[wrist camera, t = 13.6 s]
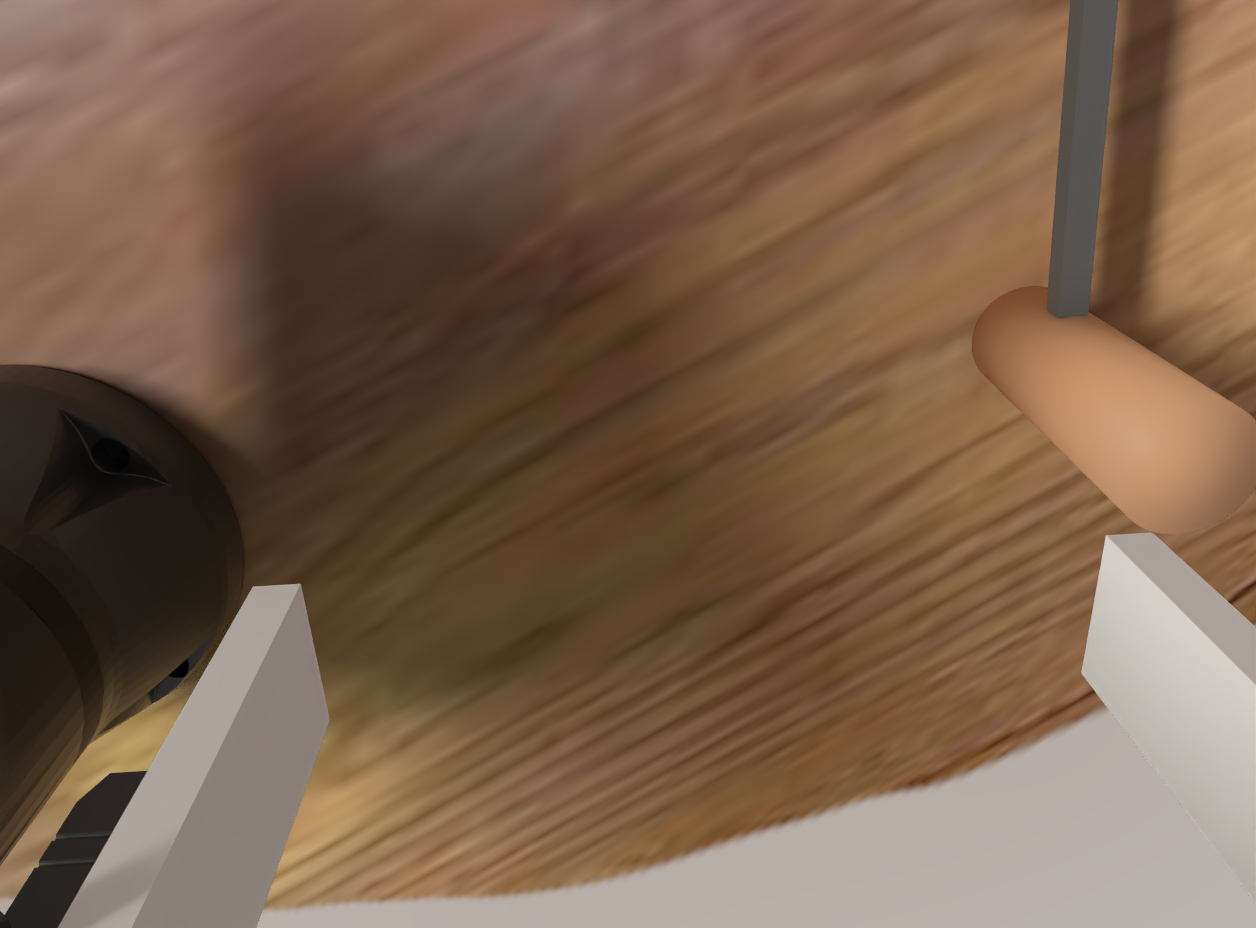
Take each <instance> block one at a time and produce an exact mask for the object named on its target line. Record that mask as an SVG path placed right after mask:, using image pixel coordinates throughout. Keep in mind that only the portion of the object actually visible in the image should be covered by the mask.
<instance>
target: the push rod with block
mask: <svg viewBox="0 0 1256 928" xmlns="http://www.w3.org/2000/svg"><path fill="white" fill-rule="evenodd" d="M1117 10H1118V0H1071V1H1070V14H1069V27H1068V40H1067V52H1066V65H1065V78H1064V91H1063V104H1062V117H1061V129H1060V142H1059V155H1058V168H1057V181H1056V194H1055V207H1054V219H1053V232H1052V245H1051V258H1050V271H1049V284H1048V288H1044V287H1037V286H1032V287H1023V288H1019V289H1015V290H1013V291H1010V292H1008V293H1006V294H1004V295H1002V296H1001V297H999V298H998V299H997V300H995V301H994V302H993V303H992V304H991V305H990V306H989V307H988V308H987V309H986V310H985V311H984V313H983V314H982V315H981V317H980V319H979V321H978V322H977V325H976V327H975V330H974V334H973V339H972V352H973V357H974V360H975V363H976V365H977V367H978V368H979V370H980V371H981V372H982V373H983V374H984V375H985V376H986V377H987V378H988V379H989V380H990V381H991V382H992V383H993V384H994V385H995V386H996V387H997V388H998V389H999V390H1000V391H1001V392H1002V393H1003V394H1004V395H1005V396H1006V397H1007V398H1008V399H1009V400H1010V401H1011V402H1012V403H1013V404H1014V405H1015V406H1016V407H1017V408H1018V409H1019V410H1020V411H1021V412H1022V413H1023V414H1024V415H1025V416H1026V417H1027V418H1028V419H1029V420H1030V421H1031V422H1032V423H1033V424H1034V425H1035V426H1036V427H1037V428H1038V429H1039V430H1040V431H1041V432H1042V433H1043V434H1044V435H1045V436H1046V437H1047V438H1048V439H1049V440H1050V441H1051V442H1052V443H1053V444H1054V445H1055V446H1056V447H1057V448H1058V449H1059V450H1060V451H1061V452H1062V453H1063V454H1064V455H1066V456H1067V457H1068V458H1069V459H1070V460H1071V461H1072V462H1073V463H1074V464H1075V465H1076V466H1077V467H1078V468H1079V469H1080V470H1081V471H1082V472H1083V473H1084V474H1085V475H1086V476H1087V477H1088V478H1089V479H1090V480H1091V481H1092V482H1093V483H1094V484H1095V485H1096V486H1097V487H1098V488H1099V489H1100V490H1101V491H1102V492H1103V493H1104V494H1105V495H1106V496H1107V497H1108V498H1109V499H1110V500H1111V501H1112V502H1113V503H1114V504H1115V505H1116V506H1117V507H1118V508H1119V509H1120V510H1121V511H1122V512H1123V513H1124V514H1125V515H1126V516H1127V517H1128V518H1129V519H1130V520H1131V521H1133V522H1134V523H1135V524H1137V525H1138V526H1140V527H1142V528H1144V529H1146V530H1149V531H1152V532H1156V533H1160V534H1170V535H1173V534H1186V533H1191V532H1195V531H1199V530H1202V529H1205V528H1208V527H1210V526H1212V525H1214V524H1216V523H1218V522H1220V521H1221V520H1223V519H1225V518H1226V517H1228V516H1229V515H1230V514H1232V513H1233V512H1234V511H1236V510H1237V509H1238V508H1239V507H1240V506H1241V505H1242V504H1243V503H1244V502H1245V501H1246V500H1247V498H1248V497H1249V496H1250V495H1251V493H1252V492H1253V490H1254V489H1255V487H1256V421H1255V419H1254V418H1253V417H1252V416H1251V415H1250V414H1249V413H1247V412H1246V411H1245V410H1243V409H1242V408H1240V407H1239V406H1237V405H1235V404H1234V403H1232V402H1231V401H1229V400H1227V399H1226V398H1224V397H1223V396H1221V395H1220V394H1218V393H1216V392H1215V391H1213V390H1212V389H1210V388H1208V387H1207V386H1205V385H1204V384H1202V383H1200V382H1199V381H1197V380H1196V379H1194V378H1193V377H1191V376H1189V375H1188V374H1186V373H1185V372H1183V371H1181V370H1180V369H1178V368H1177V367H1175V366H1174V365H1172V364H1170V363H1169V362H1167V361H1166V360H1164V359H1162V358H1161V357H1159V356H1158V355H1156V354H1155V353H1153V352H1151V351H1150V350H1148V349H1147V348H1145V347H1143V346H1142V345H1140V344H1139V343H1137V342H1136V341H1134V340H1132V339H1131V338H1129V337H1128V336H1126V335H1124V334H1123V333H1121V332H1120V331H1118V330H1117V329H1115V328H1113V327H1112V326H1110V325H1109V324H1107V323H1105V322H1104V321H1102V320H1101V319H1099V318H1097V317H1096V316H1094V315H1093V314H1091V313H1090V312H1089V302H1090V291H1091V281H1092V270H1093V260H1094V249H1095V239H1096V229H1097V218H1098V208H1099V197H1100V187H1101V177H1102V166H1103V156H1104V145H1105V135H1106V124H1107V114H1108V104H1109V93H1110V83H1111V72H1112V62H1113V51H1114V41H1115V31H1116V20H1117Z"/></svg>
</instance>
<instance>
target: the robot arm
mask: <svg viewBox="0 0 1256 928" xmlns="http://www.w3.org/2000/svg"><path fill="white" fill-rule="evenodd" d="M243 572H244V554H243V546H242V539H241V534H240V530H239V526H238V523H237V519H236V516H235V514H234V511H233V508H232V506H231V504H230V501H229V499H228V497H227V495H226V493H225V491H224V489H223V487H222V486H221V484H220V482H219V480H218V479H217V477H216V476H215V474H214V473H213V471H212V470H211V468H210V467H209V466H208V464H207V463H206V462H205V460H204V459H203V458H202V457H201V455H200V454H199V453H198V452H197V451H196V450H195V448H194V447H193V446H192V445H191V444H190V443H189V442H188V441H187V440H186V439H185V438H184V437H183V436H182V435H181V434H180V433H179V432H178V431H176V430H175V429H174V428H173V427H172V426H171V425H170V424H168V423H167V422H166V421H165V420H163V419H162V418H161V417H160V416H158V415H157V414H155V413H154V412H152V411H151V410H150V409H148V408H147V407H145V406H144V405H142V404H140V403H139V402H137V401H136V400H134V399H132V398H130V397H128V396H126V395H125V394H123V393H121V392H119V391H117V390H115V389H112V388H110V387H108V386H106V385H104V384H101V383H98V382H96V381H93V380H91V379H88V378H85V377H82V376H79V375H75V374H71V373H67V372H64V371H59V370H54V369H49V368H42V367H34V366H20V365H0V866H1V864H2V863H3V861H4V860H5V859H6V857H7V856H8V855H9V853H10V852H11V850H12V849H13V848H14V846H15V845H16V844H17V842H18V841H19V839H20V838H21V837H22V835H23V834H24V832H25V831H26V830H27V828H28V827H29V826H30V824H31V823H32V821H33V820H34V819H35V817H36V816H37V814H38V813H39V812H40V810H41V809H42V808H43V806H44V805H45V803H46V802H47V801H48V799H49V798H50V797H51V795H52V794H53V792H54V791H55V790H56V788H57V787H58V785H59V784H60V783H61V781H62V780H63V779H64V777H65V776H66V774H67V773H68V771H69V770H70V769H71V767H72V766H73V765H74V763H75V762H76V761H77V759H78V758H79V756H80V755H81V754H82V752H83V751H84V750H85V749H86V747H87V746H88V745H89V744H90V743H92V742H93V741H95V740H96V739H98V738H100V737H101V736H103V735H104V734H106V733H107V732H109V731H111V730H112V729H114V728H115V727H117V726H119V725H120V724H122V723H123V722H125V721H126V720H128V719H130V718H131V717H133V716H134V715H136V714H137V713H139V712H141V711H142V710H144V709H145V708H147V707H148V706H149V705H151V704H152V703H154V702H156V701H158V700H160V699H161V698H163V697H164V696H166V695H167V694H169V693H170V692H171V691H173V690H174V689H176V688H177V687H178V686H179V685H181V684H182V683H183V682H184V681H185V680H186V679H187V678H188V677H189V676H190V675H192V674H193V673H194V672H195V671H196V669H197V668H198V667H199V666H200V665H201V664H202V662H203V661H204V660H205V658H206V657H207V656H208V654H209V653H210V651H211V650H212V648H213V647H214V645H215V644H216V642H217V641H218V639H219V638H220V636H221V634H222V633H223V631H224V630H225V628H226V627H227V625H228V623H229V621H230V620H231V618H232V615H233V613H234V611H235V609H236V606H237V603H238V600H239V597H240V593H241V588H242V582H243ZM1081 673H1082V675H1083V676H1084V677H1085V679H1086V680H1087V681H1088V683H1089V684H1090V685H1091V687H1092V688H1093V689H1094V691H1095V692H1096V693H1097V695H1098V696H1099V697H1100V699H1101V700H1102V701H1103V703H1104V704H1105V705H1106V707H1107V708H1108V709H1109V711H1110V712H1111V713H1112V714H1113V716H1114V717H1115V719H1116V720H1117V721H1118V723H1119V724H1120V725H1121V726H1122V728H1123V729H1124V730H1125V732H1126V733H1127V734H1128V736H1129V737H1130V738H1131V740H1132V741H1133V742H1134V744H1135V745H1136V746H1137V748H1138V749H1139V750H1140V752H1141V753H1142V754H1143V756H1144V757H1145V758H1146V760H1147V761H1148V762H1149V764H1150V765H1151V766H1152V767H1153V769H1154V770H1155V772H1156V773H1157V774H1158V775H1159V777H1160V778H1161V779H1162V781H1163V782H1164V784H1165V785H1166V786H1167V787H1168V789H1169V790H1170V791H1171V793H1172V794H1173V795H1174V797H1175V798H1176V799H1177V801H1178V802H1179V803H1180V805H1181V806H1182V807H1183V809H1184V810H1185V811H1186V813H1187V814H1188V815H1189V817H1190V818H1191V819H1192V821H1193V822H1194V823H1195V825H1196V826H1197V827H1198V828H1199V830H1200V831H1201V833H1202V834H1203V835H1204V836H1205V838H1206V839H1207V840H1208V842H1209V843H1210V844H1211V846H1212V847H1213V849H1214V850H1215V851H1216V852H1217V854H1218V855H1219V856H1220V858H1221V859H1222V860H1223V861H1224V863H1225V864H1226V866H1227V867H1228V868H1229V870H1230V871H1231V872H1232V874H1233V875H1234V876H1235V877H1236V879H1237V880H1238V882H1239V883H1240V884H1241V886H1242V887H1243V888H1244V890H1245V891H1246V892H1247V894H1248V895H1249V896H1250V898H1251V899H1252V900H1253V902H1254V903H1255V904H1256V627H1255V626H1254V625H1253V624H1252V623H1251V622H1250V621H1248V620H1247V619H1246V618H1245V617H1244V616H1243V615H1242V614H1241V613H1240V612H1239V611H1238V610H1236V609H1235V608H1234V607H1233V606H1232V605H1231V604H1230V603H1229V602H1228V601H1227V600H1226V599H1224V598H1223V597H1222V596H1221V595H1220V594H1219V593H1218V592H1217V591H1216V590H1215V589H1213V588H1212V587H1211V586H1210V585H1209V584H1208V583H1207V582H1206V581H1205V580H1204V579H1203V578H1201V577H1200V576H1199V575H1198V574H1197V573H1196V572H1195V571H1194V570H1193V569H1192V568H1191V567H1189V566H1188V565H1187V564H1186V563H1185V562H1184V561H1183V560H1182V559H1181V558H1180V557H1178V556H1177V555H1176V554H1175V553H1174V552H1173V551H1172V550H1171V549H1170V548H1169V547H1168V546H1166V545H1165V544H1164V543H1163V542H1162V541H1161V540H1160V539H1159V538H1158V537H1157V536H1156V535H1154V534H1153V533H1135V534H1119V535H1106V538H1105V544H1104V549H1103V555H1102V561H1101V566H1100V572H1099V577H1098V583H1097V588H1096V594H1095V600H1094V605H1093V611H1092V616H1091V622H1090V628H1089V633H1088V639H1087V644H1086V650H1085V655H1084V661H1083V667H1082V672H1081ZM329 722H330V718H329V714H328V709H327V704H326V700H325V695H324V690H323V686H322V681H321V676H320V671H319V667H318V662H317V657H316V653H315V648H314V643H313V639H312V634H311V629H310V625H309V620H308V615H307V610H306V606H305V601H304V596H303V592H302V587H301V584H287V585H271V586H254V587H252V589H251V591H250V593H249V594H248V596H247V598H246V600H245V601H244V603H243V605H242V607H241V608H240V610H239V612H238V614H237V615H236V617H235V619H234V621H233V622H232V624H231V626H230V628H229V629H228V631H227V633H226V635H225V636H224V638H223V640H222V642H221V643H220V645H219V647H218V649H217V650H216V652H215V654H214V656H213V657H212V659H211V661H210V663H209V664H208V666H207V668H206V670H205V671H204V673H203V675H202V677H201V678H200V680H199V682H198V684H197V685H196V687H195V689H194V691H193V692H192V694H191V696H190V698H189V699H188V701H187V703H186V705H185V706H184V708H183V710H182V712H181V713H180V715H179V717H178V718H177V720H176V722H175V724H174V725H173V727H172V729H171V731H170V732H169V734H168V736H167V738H166V739H165V741H164V743H163V745H162V746H161V748H160V750H159V752H158V753H157V755H156V757H155V759H154V760H153V762H152V764H151V766H150V767H149V769H148V771H139V772H123V773H110V774H109V775H108V776H106V777H105V778H104V779H103V780H102V781H101V782H100V783H98V784H97V785H96V786H95V787H94V788H93V789H91V790H90V791H89V792H88V793H87V794H86V795H85V796H83V797H82V798H81V799H80V800H79V801H78V802H77V803H76V804H75V806H74V807H73V809H72V810H71V812H70V814H69V815H68V817H67V818H66V820H65V821H64V823H63V824H62V826H61V828H60V829H59V831H58V832H57V834H56V840H55V841H52V842H51V843H50V845H49V846H48V848H47V850H46V851H45V853H44V854H43V856H42V857H41V859H40V860H39V867H38V868H34V870H33V871H32V873H31V875H30V876H29V878H28V879H27V881H26V882H25V884H24V885H23V887H22V889H21V890H20V892H19V893H18V895H17V896H16V898H15V900H14V901H13V903H12V904H11V906H10V907H9V909H8V911H7V912H6V914H5V915H4V914H3V913H2V912H1V911H0V928H256V927H257V924H258V921H259V918H260V916H261V913H262V910H263V907H264V904H265V902H266V899H267V896H268V893H269V890H270V888H271V885H272V882H273V879H274V876H275V874H276V871H277V868H278V865H279V862H280V859H281V857H282V854H283V851H284V848H285V845H286V843H287V840H288V837H289V834H290V831H291V829H292V826H293V823H294V820H295V817H296V814H297V812H298V809H299V806H300V803H301V800H302V798H303V795H304V792H305V789H306V786H307V784H308V781H309V778H310V775H311V772H312V769H313V767H314V764H315V761H316V758H317V755H318V753H319V750H320V747H321V744H322V741H323V739H324V736H325V733H326V730H327V727H328V725H329Z"/></svg>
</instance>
